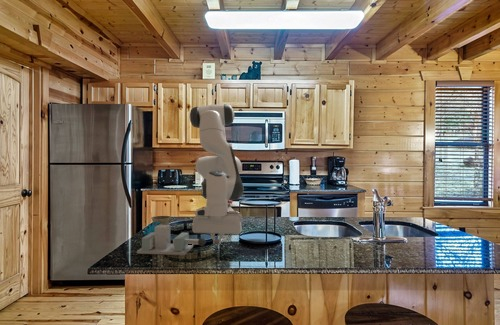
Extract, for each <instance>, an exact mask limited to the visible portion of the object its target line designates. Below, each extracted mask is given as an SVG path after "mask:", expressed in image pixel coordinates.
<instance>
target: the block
mask: <svg viewBox="0 0 500 325" xmlns="http://www.w3.org/2000/svg"><path fill="white" fill-rule="evenodd" d="M171 239H172V238H171V224H169V225H158V226H156V227H155V249H167V248H169V247H170V246H171V244H172V243H171V242H172V241H171Z"/></svg>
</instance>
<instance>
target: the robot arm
mask: <svg viewBox="0 0 500 325" xmlns="http://www.w3.org/2000/svg"><path fill="white" fill-rule="evenodd" d="M188 115H189V116H188V117H189V122H190V123H191V126H192V127H193V128H197V129H199V131H198V134H199V135H198V136H199V143H200V146H201V148H203V150H205V151H206V152H208V153H210V154H212V155H211V156H210V155H209V156H208V155H206V156H202V157H199V158H198V159H197V160H196V162H195V170H196V172H197V173H198V174H199V175H200V176H201V177H202V178H203V179H204V180H202V182H201V194H200V195H201V196H202V197H203V198H204V199H205V200H206V202H205V204H206V205H205V206H202V207H200V208H198V209H196V210H195V211H194V215H195V216H194V217H193V219H192V226H191V230H192V232H193V233H194V234H210V237H211V239H212V245H221V243H222V239H223V237H224V235H240V234H241V233H242V227H243V226H242V221H243V213H241V212H239V211H238V210H235V209H233V208H232V207H231V205H232V204H233V201H238V200H239V199H240V198H241V197H242V196H243V194H244V185H243V181H242V178H241V176H240V175H241V174H240V172H241V170H242V162H241V160H240V159H239V158H238V157H237V156H236V155H235V153H234V149H233V147H232V144H230V143H229V142H228V141H227V136H226V128H225V127H226V126H231V125H232V123H233V122H234V120H235V112H234V109H233V107H232V105H230V104H210V105H209V104H208V105H201V106H195V107H192V108H191V109H190V111H189V114H188ZM227 176H228V177H227ZM216 234H217V235H219V238H216V237H215V235H216Z"/></svg>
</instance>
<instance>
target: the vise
mask: <svg viewBox="0 0 500 325" xmlns="http://www.w3.org/2000/svg"><path fill="white" fill-rule="evenodd" d="M193 247H194V245H187V246H186V247H185V248H184V249H183V250H182V251H174V249H173V243H171V246H170V247H169V248H167V249H155V232H151V233H150V234H146V236H145V235H144V236H143V237H142V238H141V247H140V248H139V249H137V250H136V254H140V255H141V254H142V255H169V256H186V255H187V254H188V253H189V252H190V251H191V250H192V249H193Z"/></svg>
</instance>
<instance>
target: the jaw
mask: <svg viewBox="0 0 500 325" xmlns="http://www.w3.org/2000/svg"><path fill="white" fill-rule="evenodd" d="M206 242H207V241H206V239H205V238H204V237H203V238H202V237H200V238H190V234H189V232H180V233H179V234H178V235H177V236H175V238H173V240H172V244H173V249H174V251H182V250H183V249H184V248H185V247H186V246H187V245H188V244H192V245H193V246H195V245H199V246H200V247H203V246H205V244H206Z"/></svg>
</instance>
